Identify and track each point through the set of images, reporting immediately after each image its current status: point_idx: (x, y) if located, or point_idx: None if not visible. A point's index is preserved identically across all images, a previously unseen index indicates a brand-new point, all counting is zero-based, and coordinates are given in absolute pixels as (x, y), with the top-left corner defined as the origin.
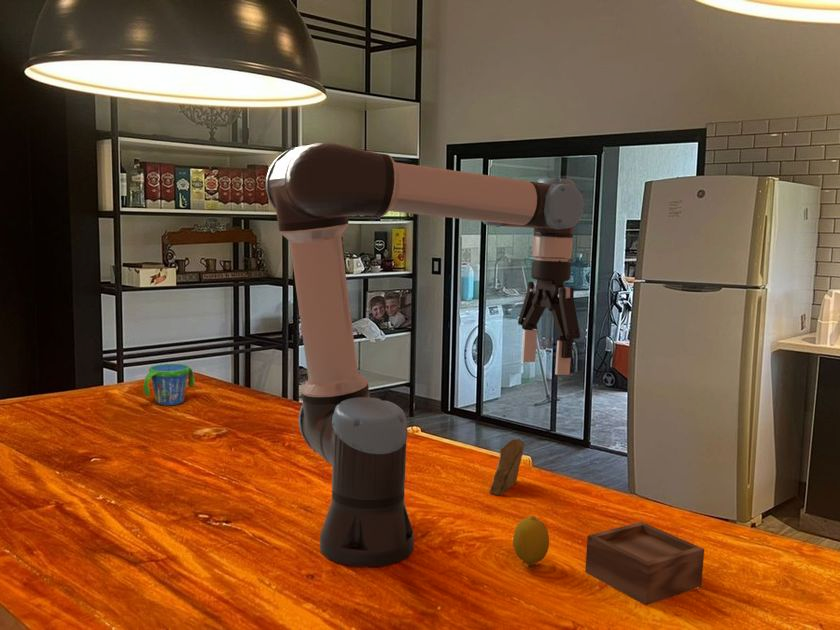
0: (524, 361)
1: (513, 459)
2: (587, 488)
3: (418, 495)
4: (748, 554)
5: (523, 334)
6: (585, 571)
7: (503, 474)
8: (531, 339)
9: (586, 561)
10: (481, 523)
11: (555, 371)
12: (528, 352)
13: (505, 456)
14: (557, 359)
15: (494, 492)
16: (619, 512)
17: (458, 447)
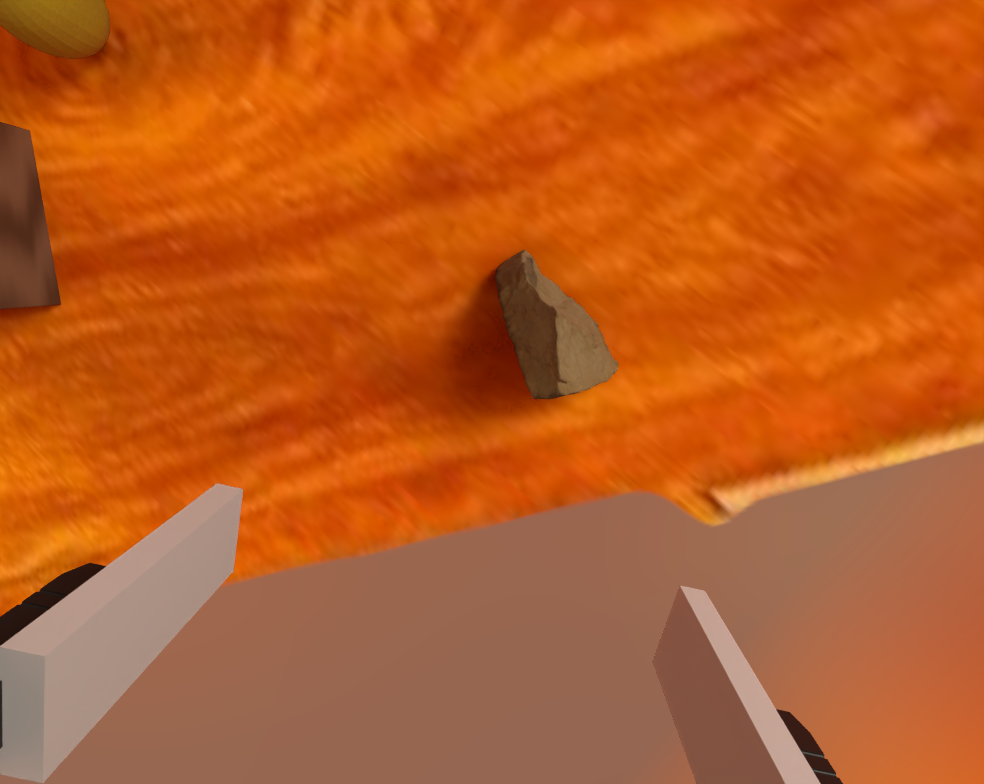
0: (679, 595)
1: (513, 330)
2: (440, 508)
3: (617, 49)
4: (3, 510)
5: (810, 771)
6: (28, 130)
7: (507, 285)
8: (727, 779)
9: (4, 123)
10: (359, 90)
11: (230, 497)
12: (691, 664)
13: (533, 313)
14: (157, 537)
15: (512, 258)
16: (280, 457)
17: (906, 431)
